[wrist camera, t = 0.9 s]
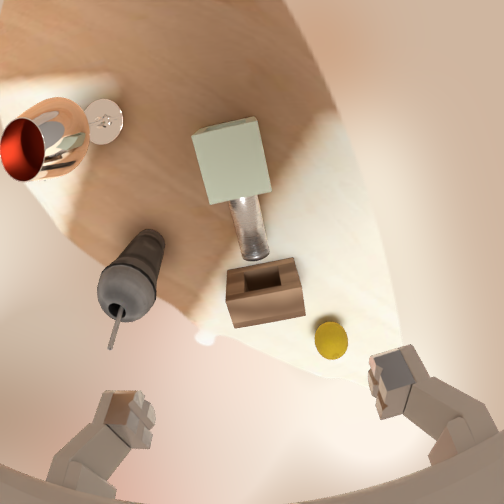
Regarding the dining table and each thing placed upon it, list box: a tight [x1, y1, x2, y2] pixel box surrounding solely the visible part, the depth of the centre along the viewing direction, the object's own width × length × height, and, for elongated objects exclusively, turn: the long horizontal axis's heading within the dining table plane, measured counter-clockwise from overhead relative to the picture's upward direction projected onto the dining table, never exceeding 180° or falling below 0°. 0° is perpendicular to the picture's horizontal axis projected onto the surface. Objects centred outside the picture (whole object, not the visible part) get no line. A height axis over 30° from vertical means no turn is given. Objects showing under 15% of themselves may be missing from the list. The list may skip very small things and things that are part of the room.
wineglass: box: [0, 97, 123, 182], centre depth 27 cm, size 8×8×18 cm
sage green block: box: [191, 116, 272, 205], centre depth 35 cm, size 8×7×7 cm
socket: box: [226, 258, 306, 328], centre depth 44 cm, size 5×10×8 cm, turn 102°
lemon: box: [315, 322, 348, 360], centre depth 49 cm, size 6×6×8 cm
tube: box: [228, 195, 270, 261], centre depth 37 cm, size 16×4×4 cm, turn 12°
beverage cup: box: [97, 230, 165, 350], centre depth 35 cm, size 7×7×20 cm
